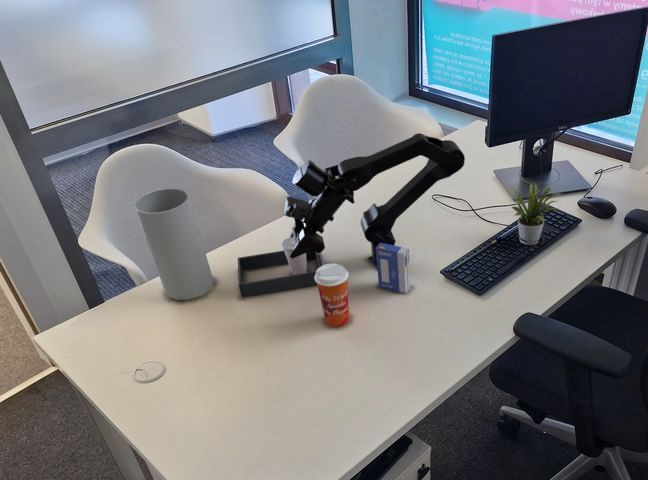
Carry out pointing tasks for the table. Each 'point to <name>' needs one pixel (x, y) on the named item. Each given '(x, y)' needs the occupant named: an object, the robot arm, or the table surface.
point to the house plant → (532, 215)
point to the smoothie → (296, 263)
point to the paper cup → (333, 293)
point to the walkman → (393, 267)
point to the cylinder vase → (175, 243)
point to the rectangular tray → (274, 283)
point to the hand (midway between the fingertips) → (289, 250)
